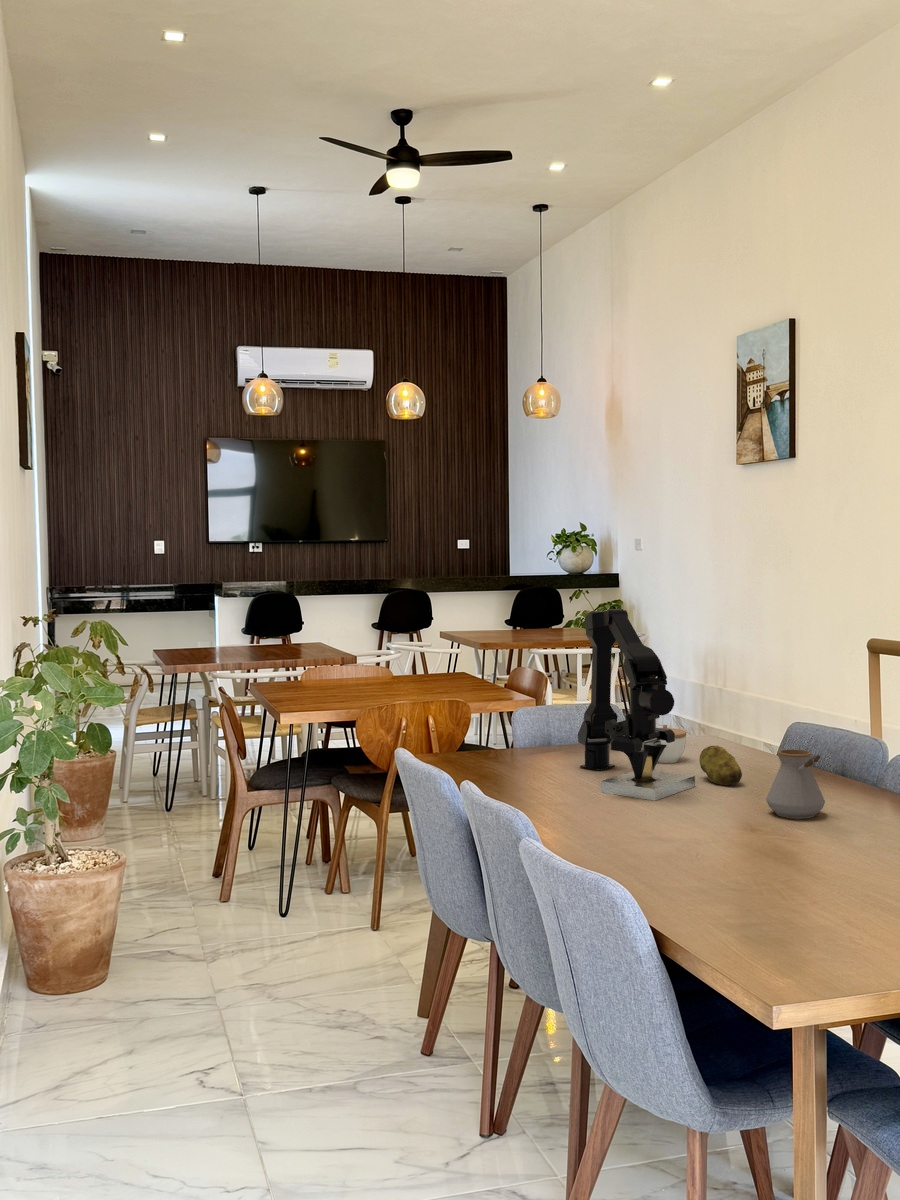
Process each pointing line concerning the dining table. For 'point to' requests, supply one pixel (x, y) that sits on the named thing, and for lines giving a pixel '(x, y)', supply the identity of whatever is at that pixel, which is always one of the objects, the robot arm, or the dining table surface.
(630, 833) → the dining table surface
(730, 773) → the potato
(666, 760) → the lidded jar
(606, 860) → the dining table surface
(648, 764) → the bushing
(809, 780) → the coffee pot
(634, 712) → the robot arm
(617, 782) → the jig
